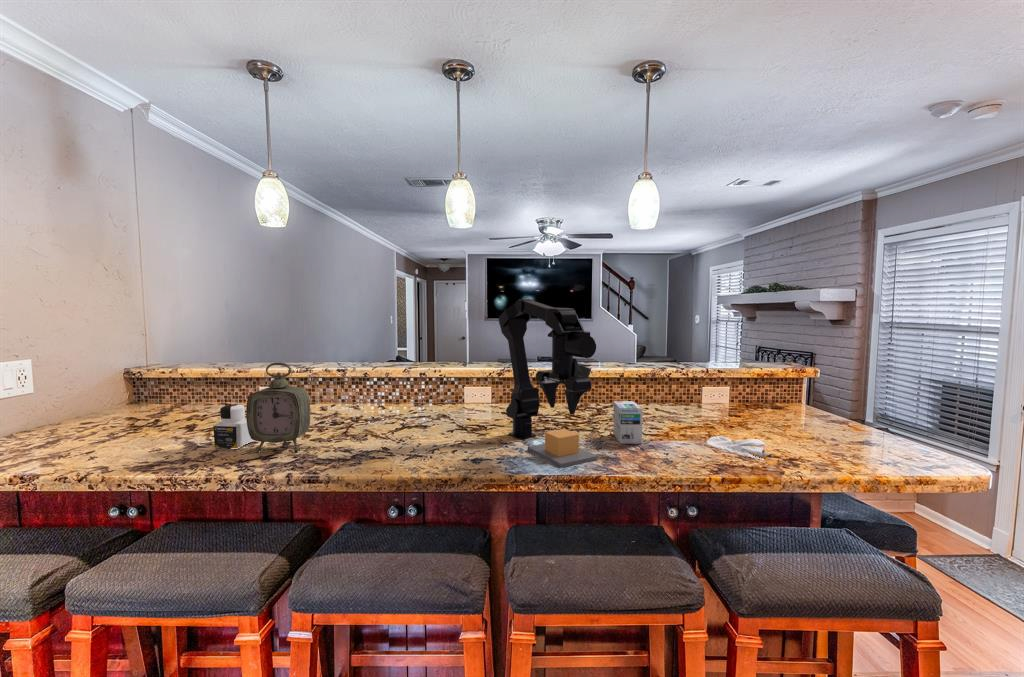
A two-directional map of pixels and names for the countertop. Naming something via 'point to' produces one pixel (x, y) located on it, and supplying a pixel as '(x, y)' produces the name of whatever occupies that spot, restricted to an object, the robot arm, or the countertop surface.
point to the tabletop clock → (278, 412)
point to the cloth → (739, 446)
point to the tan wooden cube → (561, 442)
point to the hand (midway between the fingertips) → (562, 410)
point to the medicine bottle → (231, 428)
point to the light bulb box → (628, 422)
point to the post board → (563, 460)
